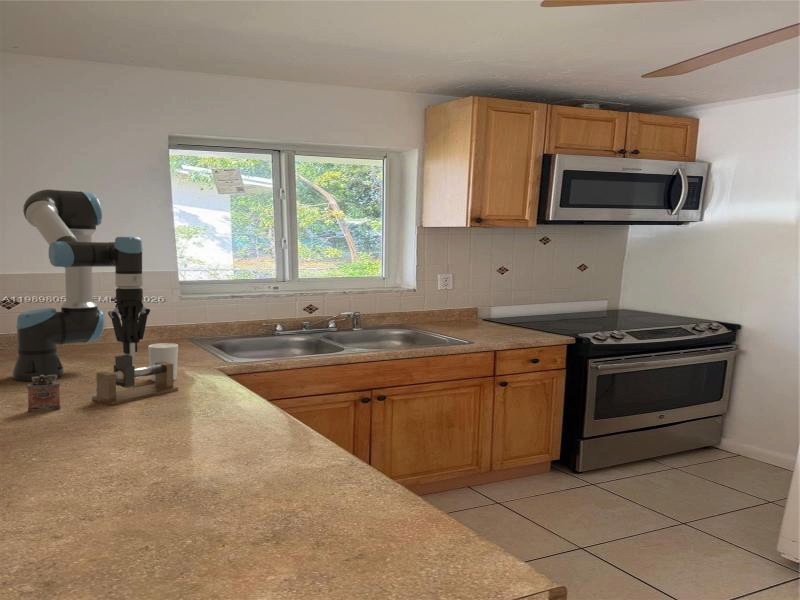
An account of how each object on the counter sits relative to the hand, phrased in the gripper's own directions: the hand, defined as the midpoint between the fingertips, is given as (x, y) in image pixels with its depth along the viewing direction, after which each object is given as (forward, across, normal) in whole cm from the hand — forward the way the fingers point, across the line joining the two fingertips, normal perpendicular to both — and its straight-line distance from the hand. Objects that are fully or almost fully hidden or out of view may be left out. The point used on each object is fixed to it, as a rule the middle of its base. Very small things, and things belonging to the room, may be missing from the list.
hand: (130, 363), depth 187 cm
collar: (+6, -2, 0) cm, 7 cm away
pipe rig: (+10, +2, 0) cm, 11 cm away
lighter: (+11, -23, +5) cm, 26 cm away
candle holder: (+11, +20, +12) cm, 26 cm away
